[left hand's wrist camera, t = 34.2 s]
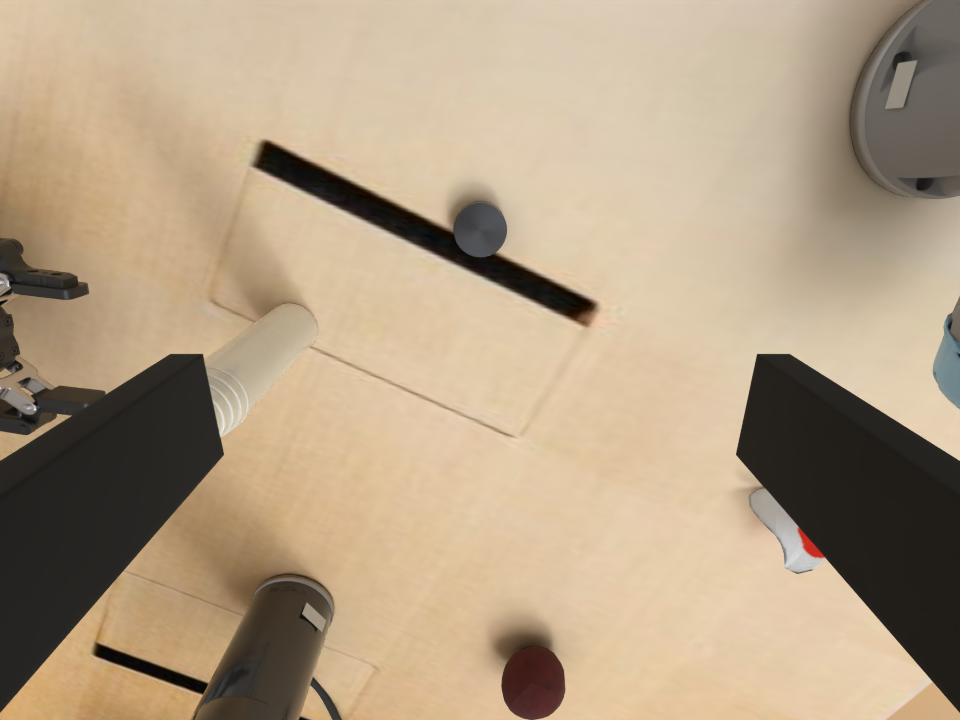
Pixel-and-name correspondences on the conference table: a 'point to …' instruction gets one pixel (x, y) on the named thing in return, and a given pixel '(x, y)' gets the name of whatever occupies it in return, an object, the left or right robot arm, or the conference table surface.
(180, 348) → the conference table surface
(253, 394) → the bottle
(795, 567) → the fish
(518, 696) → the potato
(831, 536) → the left robot arm
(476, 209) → the cap
